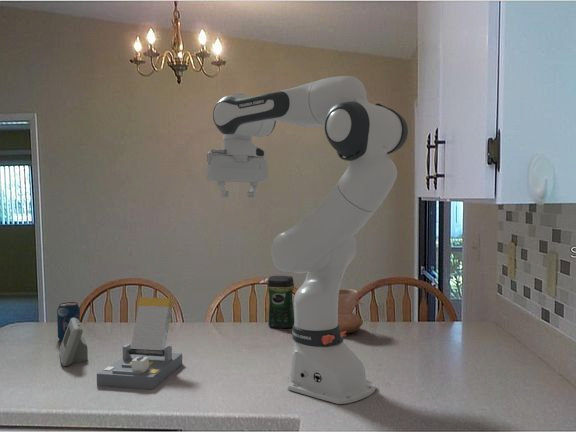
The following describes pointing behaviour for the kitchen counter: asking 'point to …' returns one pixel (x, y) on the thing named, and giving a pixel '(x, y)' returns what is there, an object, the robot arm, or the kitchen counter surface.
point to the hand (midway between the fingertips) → (238, 197)
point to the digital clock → (73, 344)
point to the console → (125, 377)
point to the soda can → (66, 316)
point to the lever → (151, 326)
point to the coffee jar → (280, 301)
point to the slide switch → (140, 364)
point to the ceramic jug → (348, 311)
